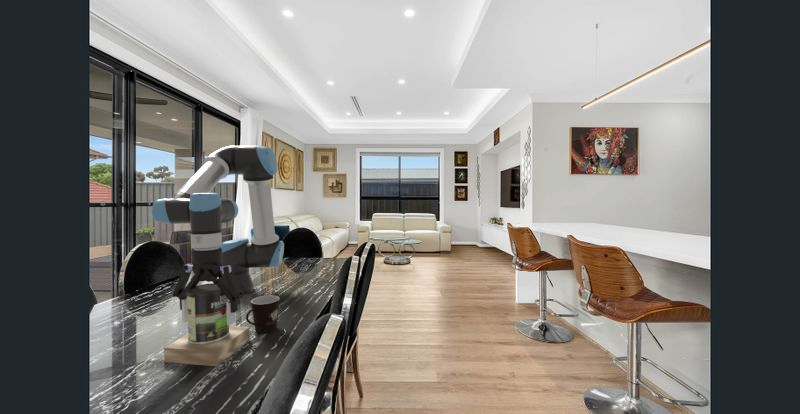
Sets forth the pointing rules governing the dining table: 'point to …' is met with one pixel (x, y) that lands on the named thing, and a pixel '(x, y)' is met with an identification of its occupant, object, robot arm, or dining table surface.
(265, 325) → the coffee mug
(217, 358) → the oak riser
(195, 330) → the coffee can
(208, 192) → the robot arm
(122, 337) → the dining table surface
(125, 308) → the dining table surface
